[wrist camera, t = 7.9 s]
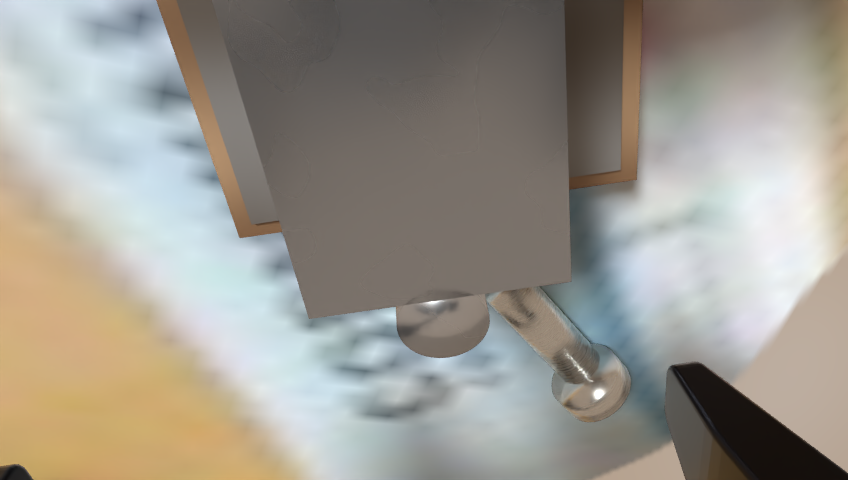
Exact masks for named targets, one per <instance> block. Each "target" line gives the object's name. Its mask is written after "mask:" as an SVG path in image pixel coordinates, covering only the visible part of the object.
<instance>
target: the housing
mask: <svg viewBox="0 0 848 480" xmlns="http://www.w3.org/2000/svg"><path fill="white" fill-rule="evenodd" d="M212 3H213V6H214V9H215V12H216V16H217V19H218V22H219V25H220V29H221V32H222V35H223V39H224V42H225V45H226V48H227V52H228V55H229V58H230V62H231V65H232V68H233V71H234V75H235V78H236V81H237V84H238V88H239V91H240V94H241V98H242V101H243V104H244V107H245V111H246V114H247V117H248V120H249V124H250V127H251V130H252V134H253V137H254V140H255V143H256V147H257V150H258V153H259V156H260V160H261V163H262V166H263V170H264V173H265V176H266V179H267V183H268V186H269V189H270V193H271V196H272V199H273V202H274V206H275V209H276V212H277V215H278V219H279V222H280V225H281V229H282V232H283V235H284V238H285V242H286V245H287V248H288V251H289V255H290V258H291V261H292V265H293V268H294V271H295V274H296V278H297V281H298V284H299V288H300V291H301V294H302V297H303V301H304V304H305V307H306V310H307V314H308V317H309V319H312V318H319V317H326V316H333V315H340V314H347V313H354V312H361V311H368V310H375V309H382V308H389V307H396V319H397V331H398V334H399V337H400V339H401V340H402V341H403V343H404V344H405V345H406V346H407V347H408V348H410V349H411V350H413V351H414V352H416V353H418V354H421V355H424V356H428V357H434V358H446V357H453V356H457V355H460V354H463V353H465V352H467V351H469V350H471V349H472V348H474V347H475V346H476V345H478V344H479V343H480V342H481V341H482V339H483V338H484V337H485V335H486V333H487V331H488V328H489V322H490V320H489V313H488V308H487V302H486V297H485V294H488V293H495V292H502V291H509V290H516V289H523V288H530V287H537V286H544V285H552V284H559V283H566V282H571V247H570V208H569V168H568V129H567V90H566V51H565V12H564V0H212Z"/></svg>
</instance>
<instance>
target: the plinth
mask: <svg viewBox="0 0 848 480" xmlns="http://www.w3.org/2000/svg"><path fill="white" fill-rule="evenodd" d="M156 1H157V4H158V6H159V9H160V12H161V15H162V18H163V21H164V24H165V26H166V29H167V32H168V35H169V38H170V41H171V44H172V46H173V49H174V52H175V55H176V58H177V61H178V63H179V66H180V69H181V72H182V75H183V78H184V81H185V83H186V86H187V89H188V92H189V95H190V98H191V101H192V103H193V106H194V109H195V112H196V115H197V118H198V120H199V123H200V126H201V129H202V132H203V135H204V138H205V140H206V143H207V146H208V149H209V152H210V155H211V158H212V160H213V163H214V166H215V169H216V172H217V175H218V178H219V180H220V183H221V186H222V189H223V192H224V195H225V197H226V200H227V203H228V206H229V209H230V212H231V215H232V217H233V220H234V223H235V226H236V229H237V232H238V235H239V237H240V238H244V237H250V236H257V235H264V234H271V233H278V232H282V229H281V225H280V222H279V219H278V215H277V212H276V209H275V206H274V202H273V199H272V196H271V193H270V189H269V186H268V183H267V179H266V176H265V173H264V170H263V166H262V163H261V160H260V156H259V153H258V150H257V147H256V143H255V140H254V137H253V134H252V130H251V127H250V124H249V120H248V117H247V114H246V111H245V107H244V104H243V101H242V98H241V94H240V91H239V88H238V84H237V81H236V78H235V75H234V71H233V68H232V65H231V62H230V58H229V55H228V52H227V48H226V45H225V42H224V39H223V35H222V32H221V29H220V25H219V22H218V19H217V16H216V12H215V9H214V6H213V3H212V0H156ZM564 12H565V51H566V90H567V129H568V168H569V190H570V189H576V188H583V187H590V186H597V185H604V184H610V183H617V182H624V181H631V180H637V153H638V125H639V97H640V69H641V41H642V13H643V0H564Z"/></svg>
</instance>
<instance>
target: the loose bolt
mask: <svg viewBox="0 0 848 480" xmlns="http://www.w3.org/2000/svg"><path fill="white" fill-rule="evenodd" d="M485 297H486V301H487V302H488V303H489V304H490V305H491V306H492V307H493V308H494V309H495V310H496V311H497V312H498V313H499V314H500V315H501V316H502V317H503V318H504V320H505V321H506V322H507V323H508V324H509V325H510V326H511V327H512V328H513V329H514V330H515V331H516V332H517V333H518V334H519V335H520V336H521V337H522V338H523V339H524V340H525V341H526V342H527V343H528V344H529V345H530V346H531V347H532V348H533V349H534V350H535V351H536V352H537V353H538V354H539V355H540V356H541V357H542V359H543V360H544V361H545V362H546V363H547V364H548V365H549V366H550V367H551V368H552V369H553V370H554V371H555V372H554V375H553V378H552V392H553V395H554V397H555V398H556V400H557V401H558V402H559V403H560V404H561V405H562V406H563V407H564V408H565V409H566V410H567V411H568V412H569V413H570V414H571V415H572V416H573V417H575V418H576V419H578V420H580V421H584V422H596V421H600V420H603V419H605V418H607V417H609V416H610V415H612V414H613V413H615V412H616V411H617V410H618V409H619V408H620V407H621V406H622V405H623V403H624V402H625V400H626V398H627V396H628V394H629V391H630V387H631V378H630V374H629V371H628V369H627V368H626V367H625V366H624V364H623V363H622V362H621V361H620V360H619V359H618V358H617V356H616V355H615V354H614V353H613V352H612V351H611V350H610V349H609V348H607V347H606V346H603V345H600V344H590V342H589V341H588V340H587V339H586V338H585V337H584V336H583V335H582V334H581V332H580V331H579V330H578V329H577V328H576V327H575V326H574V325H573V324H572V322H571V321H570V320H569V319H568V318H567V317H566V316H565V315H564V314H563V312H562V311H561V310H560V309H559V308H558V307H557V306H556V305H555V304H554V302H553V301H552V300H551V299H550V298H549V297H548V296H547V295H546V294H545V292H544V291H543V290H542V289H541V288H540V287H539V286H537V287H530V288H523V289H516V290H509V291H502V292H495V293H488V294H485Z"/></svg>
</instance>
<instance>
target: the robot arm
mask: <svg viewBox="0 0 848 480" xmlns="http://www.w3.org/2000/svg"><path fill="white" fill-rule="evenodd" d="M665 415H666V420H667V424H668V427H669V430H670V433H671V436H672V439H673V442H674V445H675V448H676V452H677V454H678V458H679V460H680V464H681V467H682V470H683V473H684V476H685V479H686V480H848V473H847V472H846V471H844V470H843V469H842V468H840V467H839V466H838V465H836V464H835V463H834V462H832V461H831V460H830V459H828V458H827V457H826V456H824V455H823V454H822V453H820V452H819V451H818V450H816V449H815V448H814V447H812V446H811V445H810V444H808V443H807V442H806V441H805V440H803V439H802V438H801V437H799V436H798V435H796V434H795V433H794V432H793V431H791V430H790V429H789V428H787V427H786V426H785V425H783V424H782V423H781V422H779V421H778V420H776V419H775V418H774V417H772V416H771V415H770V414H769V413H767V412H766V411H765V410H763V409H762V408H761V407H759V406H758V405H757V404H755V403H754V402H752V401H751V400H750V399H749V398H747V397H746V396H745V395H743V394H742V393H741V392H739V391H738V390H737V389H735V388H734V387H733V386H731V385H730V384H729V383H727V382H726V381H725V380H723V379H722V378H721V377H719V376H718V375H717V374H715V373H714V372H713V371H711V370H710V369H709V368H707V367H706V366H705V365H703V364H701V363H699V362H690V363H683V364H677V365H672V366H670V367H669V369H668V371H667V379H666V394H665ZM0 480H33V479H32V477H31V476H30V474H29V473H28V472H27V470H26V469H25V468H24V467H23V466H21V465H19V464H13V465H6V466H0Z"/></svg>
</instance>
